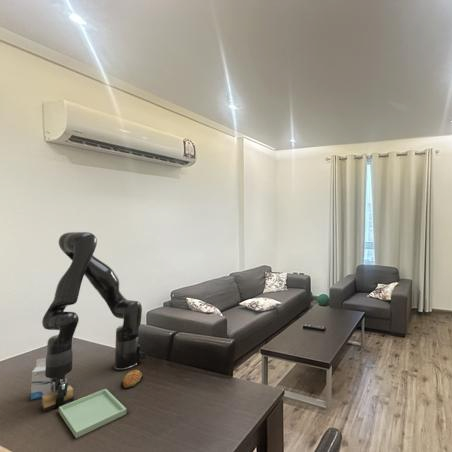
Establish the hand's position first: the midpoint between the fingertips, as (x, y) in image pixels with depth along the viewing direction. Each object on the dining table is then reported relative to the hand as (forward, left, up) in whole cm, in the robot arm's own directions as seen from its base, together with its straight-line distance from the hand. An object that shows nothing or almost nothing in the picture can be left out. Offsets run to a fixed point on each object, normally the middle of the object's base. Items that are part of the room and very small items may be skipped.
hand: (57, 403), depth 107 cm
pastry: (-23, +6, 0) cm, 24 cm away
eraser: (0, 0, 0) cm, 0 cm away
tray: (-6, +17, 0) cm, 18 cm away
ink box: (+1, -12, 0) cm, 12 cm away
